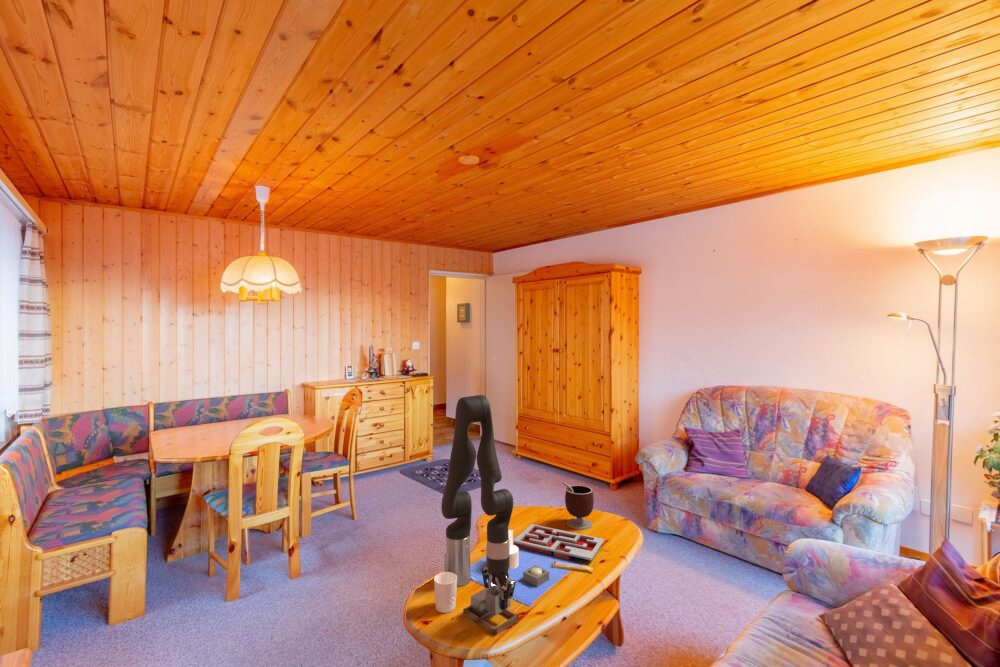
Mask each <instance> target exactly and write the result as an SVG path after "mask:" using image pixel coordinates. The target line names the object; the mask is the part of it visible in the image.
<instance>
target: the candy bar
mask: <svg viewBox="0 0 1000 667" xmlns="http://www.w3.org/2000/svg"><path fill="white" fill-rule="evenodd" d="M552 568H556V569H561V570H569V571H576V572H581V573H582V572H583V573H593V572H594V569H595V567H594V566H593V567H592V566H591V565H590V566H589V565H586V564H577V563H570V562H563V561H556V560H554V561H552Z"/></svg>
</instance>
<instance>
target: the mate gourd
mask: <svg viewBox="0 0 1000 667" xmlns="http://www.w3.org/2000/svg"><path fill="white" fill-rule="evenodd" d="M561 484H563V485H564V486H565V487H566V488H565V489H566V490H565V495H564V503H565V508H566V511H567V512H568V513H569V515H570V516H573V517H574V518H573V517H572V518H570V519H568V520H567V521H566V525H567V526H568V527H569V528H570V529H573V530H579V531H581V530H588V529H591V528H592V527H593V522H592V521H591V520H589V519H587V517H588V516H590V514H591V513H592V512H593V510H594V500H595V498H594V492H593V489H592V488H591V487H590V486H586V485H582V484H581V485H580V484H578V485H577V484H575V485H569V484H568V483H566V482H564V481H562V482H561Z"/></svg>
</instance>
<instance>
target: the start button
mask: <svg viewBox="0 0 1000 667" xmlns="http://www.w3.org/2000/svg"><path fill="white" fill-rule="evenodd" d="M540 568H541V567H540ZM540 568H537V567H534V568H532V569H531V570H530V573H531V574H533V575H535V576H539V575H541V574H542V569H540Z"/></svg>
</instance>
